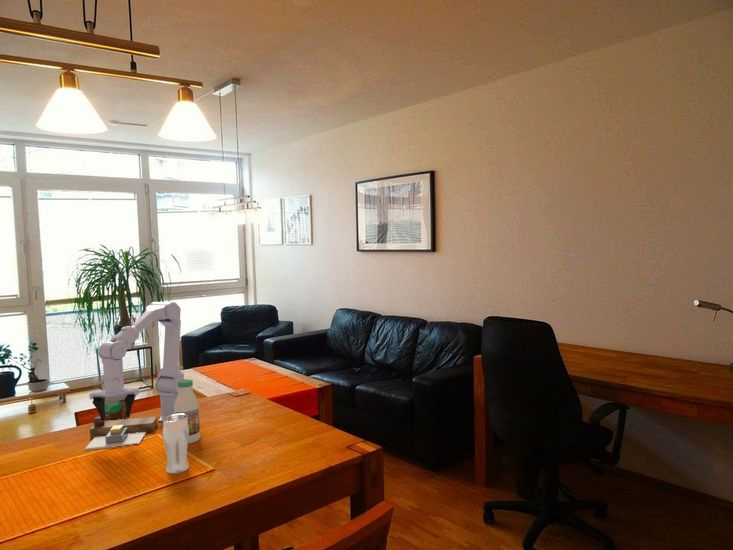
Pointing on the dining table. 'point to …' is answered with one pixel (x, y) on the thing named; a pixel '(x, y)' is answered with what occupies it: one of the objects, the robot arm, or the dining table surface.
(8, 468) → the dining table surface
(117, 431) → the lever cap
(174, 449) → the beer glass
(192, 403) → the milk bottle
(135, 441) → the rubber mat
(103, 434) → the body
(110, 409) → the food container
